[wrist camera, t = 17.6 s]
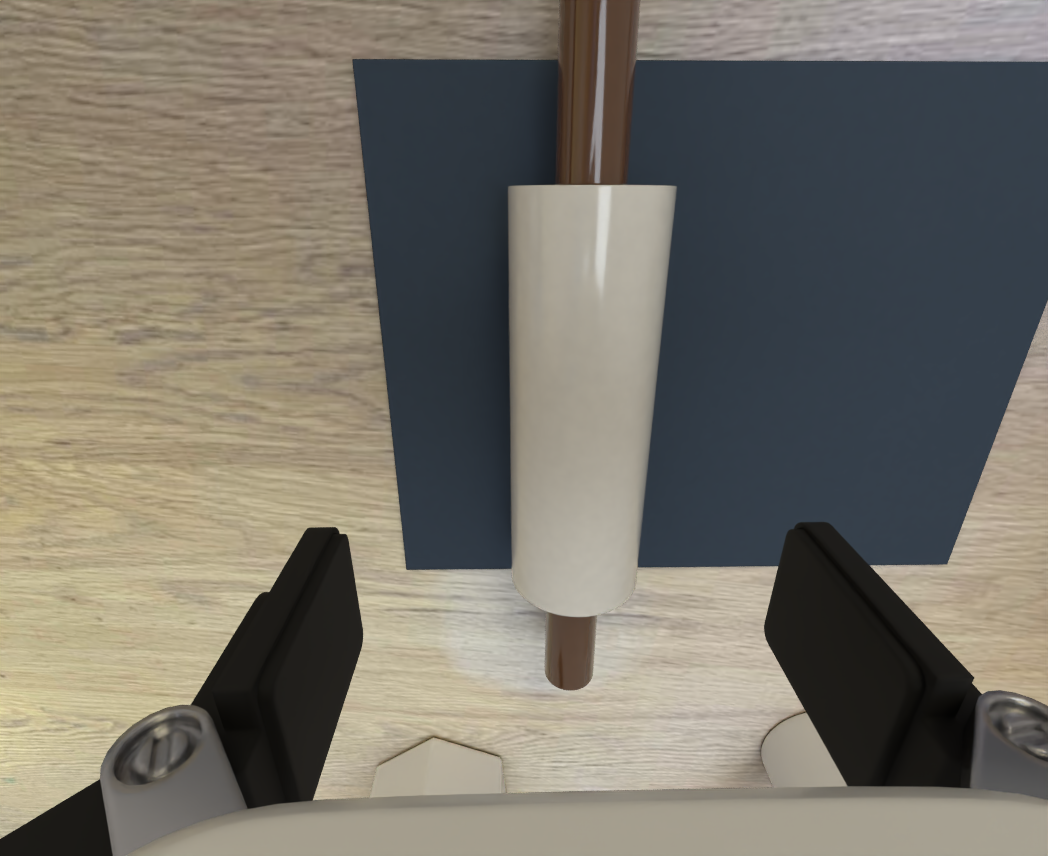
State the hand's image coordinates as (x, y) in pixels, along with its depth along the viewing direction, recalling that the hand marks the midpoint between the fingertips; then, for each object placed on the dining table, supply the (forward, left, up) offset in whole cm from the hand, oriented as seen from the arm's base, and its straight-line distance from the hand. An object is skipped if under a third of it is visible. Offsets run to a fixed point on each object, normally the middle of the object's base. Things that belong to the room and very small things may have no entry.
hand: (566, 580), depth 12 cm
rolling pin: (0, 0, -13) cm, 13 cm away
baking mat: (+4, +6, -14) cm, 15 cm away
